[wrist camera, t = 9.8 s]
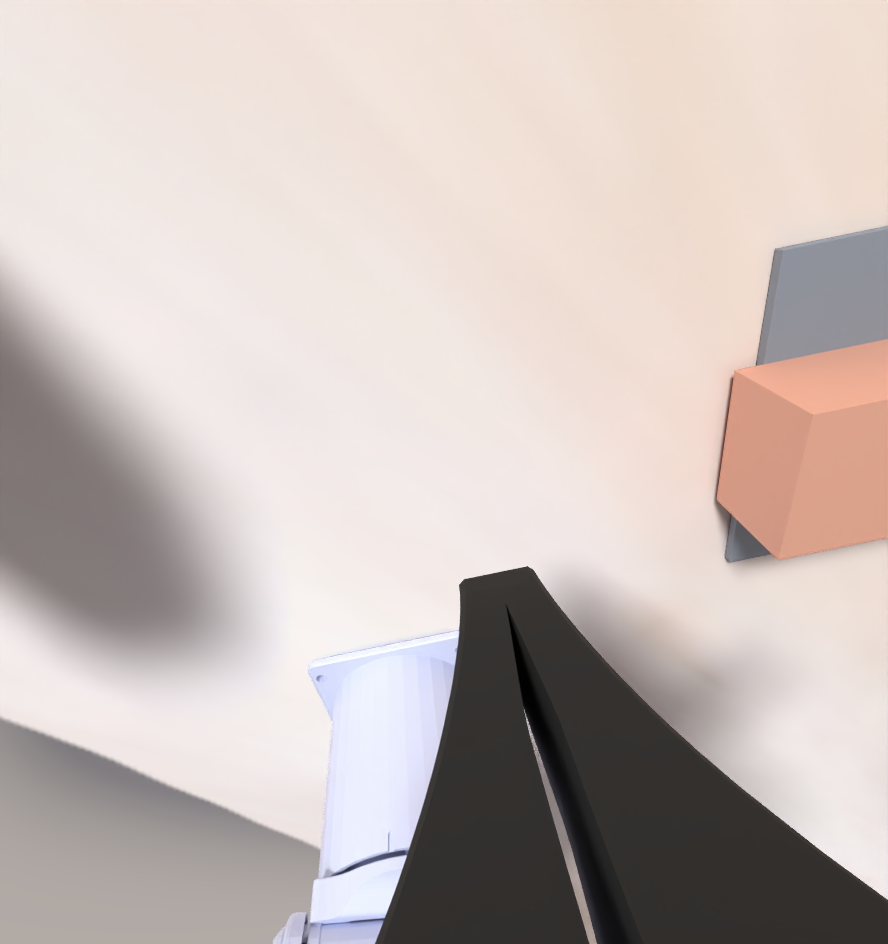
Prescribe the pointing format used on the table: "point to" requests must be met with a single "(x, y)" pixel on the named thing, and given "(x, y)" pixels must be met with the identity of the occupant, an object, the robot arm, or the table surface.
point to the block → (810, 451)
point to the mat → (820, 315)
